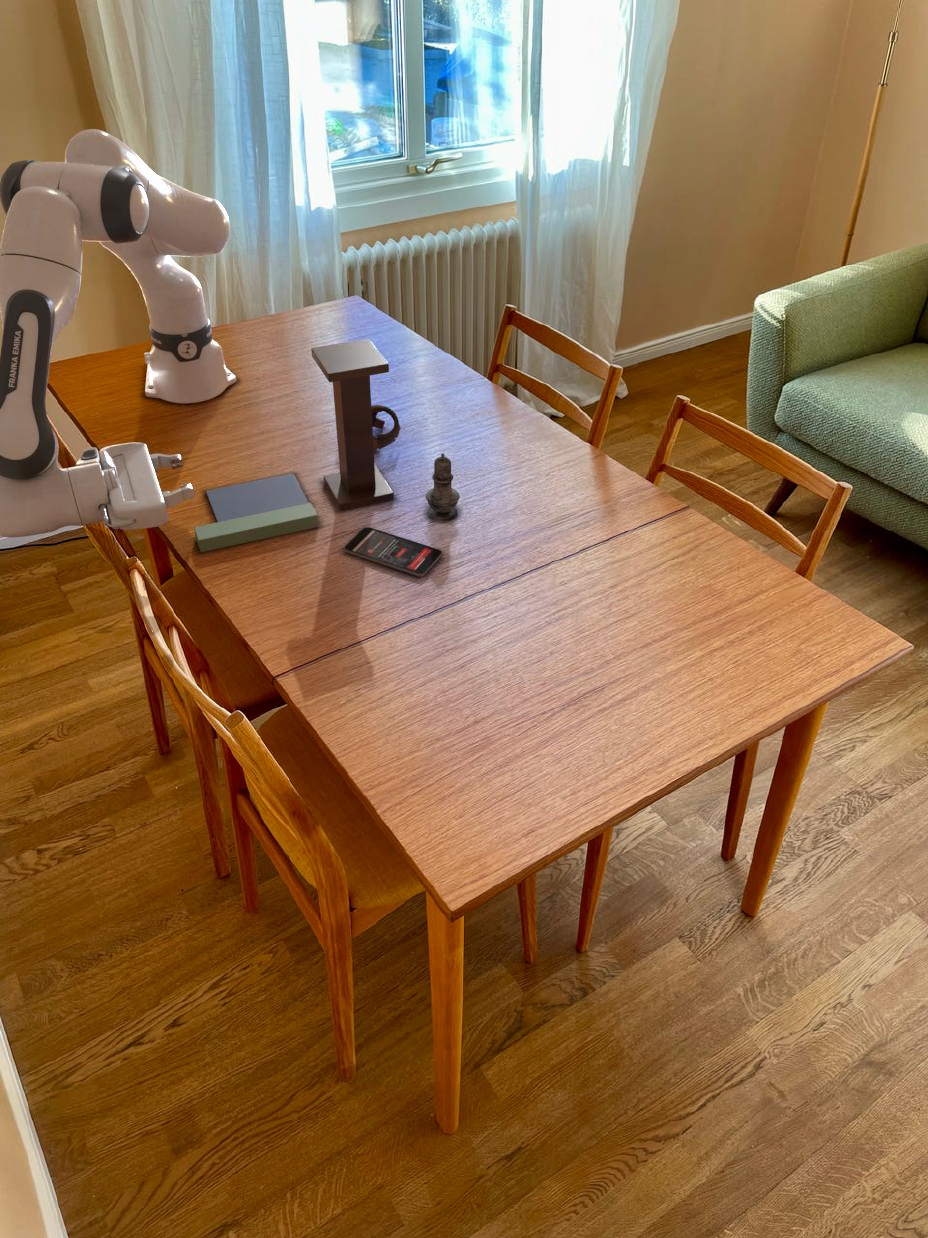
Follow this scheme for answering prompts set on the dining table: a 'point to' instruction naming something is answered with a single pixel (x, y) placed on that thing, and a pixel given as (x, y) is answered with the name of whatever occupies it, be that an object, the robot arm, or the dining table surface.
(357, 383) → the stand
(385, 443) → the pottery mug
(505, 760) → the dining table surface
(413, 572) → the smartphone
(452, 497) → the salt shaker
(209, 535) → the bar
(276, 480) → the blue-grey flat rectangular plate
